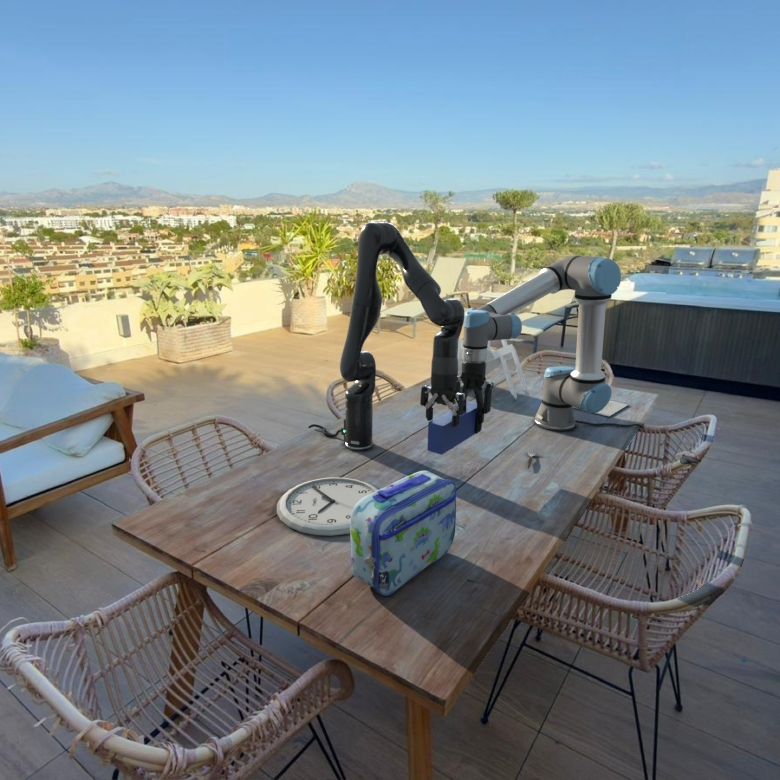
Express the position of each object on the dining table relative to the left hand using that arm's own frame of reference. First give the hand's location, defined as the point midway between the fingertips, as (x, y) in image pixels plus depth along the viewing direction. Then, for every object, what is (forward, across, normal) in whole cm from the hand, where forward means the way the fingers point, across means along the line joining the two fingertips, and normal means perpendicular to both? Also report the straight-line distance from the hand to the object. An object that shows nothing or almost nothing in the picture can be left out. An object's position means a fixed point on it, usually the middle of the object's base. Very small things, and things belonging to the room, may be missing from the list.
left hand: (442, 423), depth 154 cm
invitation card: (+18, +19, +102) cm, 105 cm away
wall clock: (+18, -15, -32) cm, 39 cm away
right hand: (+8, 0, +18) cm, 19 cm away
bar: (+8, 0, +9) cm, 12 cm away
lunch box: (+18, +17, -43) cm, 49 cm away
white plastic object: (+18, -32, +86) cm, 94 cm away
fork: (+18, +17, +30) cm, 39 cm away
